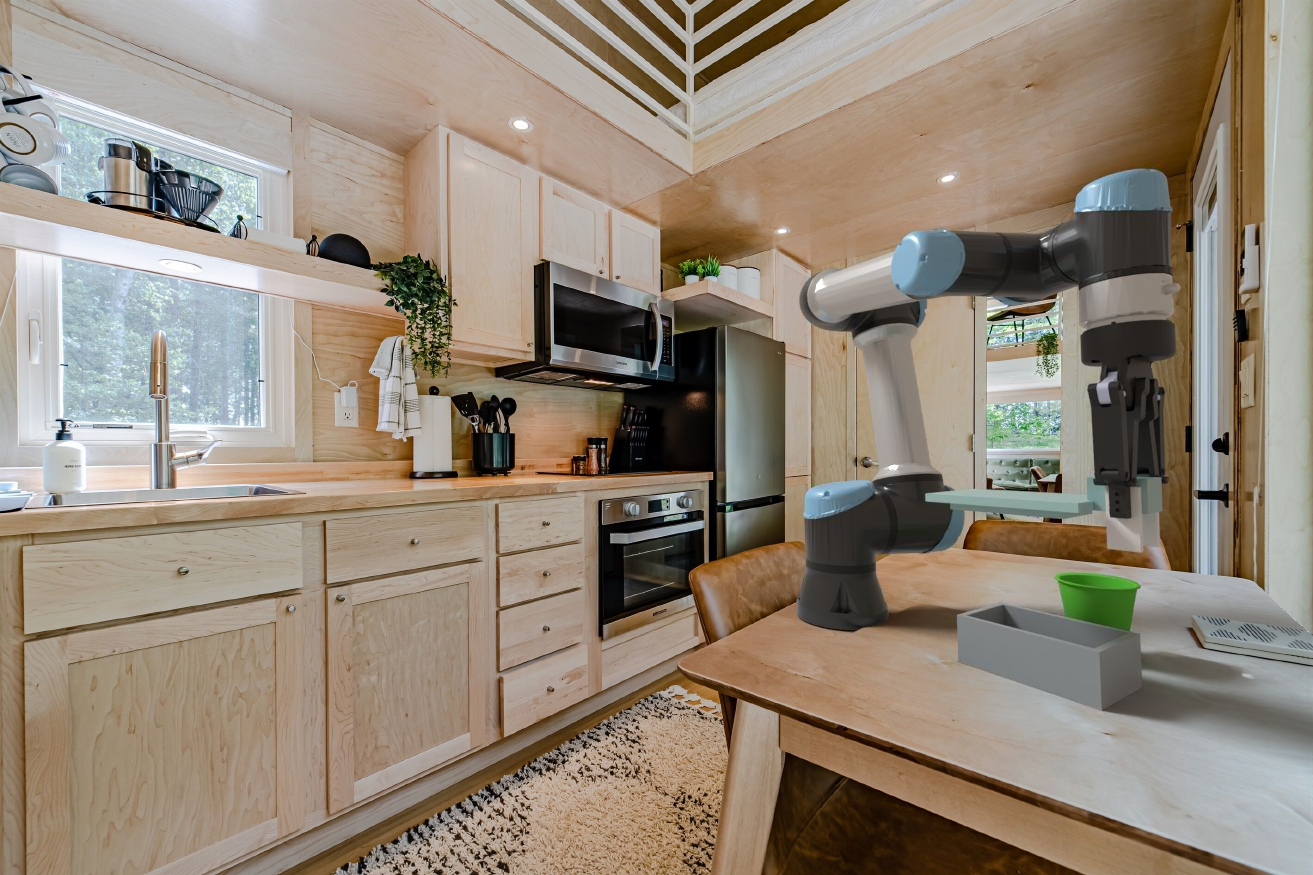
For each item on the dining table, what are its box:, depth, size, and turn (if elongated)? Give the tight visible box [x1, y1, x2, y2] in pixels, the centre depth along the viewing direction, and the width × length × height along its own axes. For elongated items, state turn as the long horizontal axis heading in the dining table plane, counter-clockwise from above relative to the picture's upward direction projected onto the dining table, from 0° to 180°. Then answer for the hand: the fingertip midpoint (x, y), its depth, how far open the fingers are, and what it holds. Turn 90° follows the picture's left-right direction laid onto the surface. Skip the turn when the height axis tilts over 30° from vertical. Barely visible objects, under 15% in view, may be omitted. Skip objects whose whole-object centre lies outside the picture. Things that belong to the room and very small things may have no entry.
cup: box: [1054, 571, 1142, 632], centre depth 72 cm, size 9×9×11 cm
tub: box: [956, 601, 1143, 711], centre depth 67 cm, size 16×11×7 cm
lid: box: [925, 476, 1164, 520], centre depth 64 cm, size 21×11×4 cm, turn 32°
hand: (1133, 547), depth 56 cm, fingers closed on lid, 4 cm apart
